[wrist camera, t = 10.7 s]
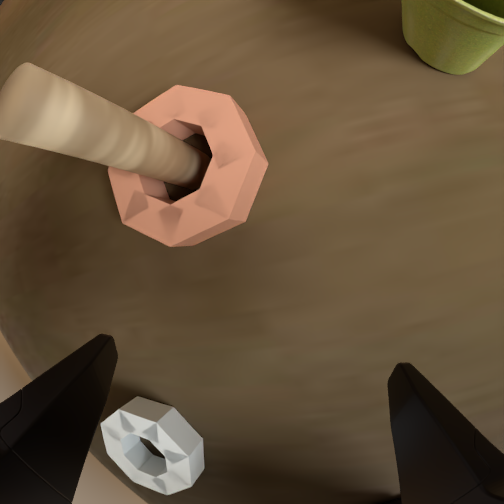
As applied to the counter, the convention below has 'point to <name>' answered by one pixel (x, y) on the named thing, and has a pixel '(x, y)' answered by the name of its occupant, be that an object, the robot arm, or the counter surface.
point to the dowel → (92, 129)
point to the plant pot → (453, 31)
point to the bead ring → (216, 178)
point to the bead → (164, 439)
